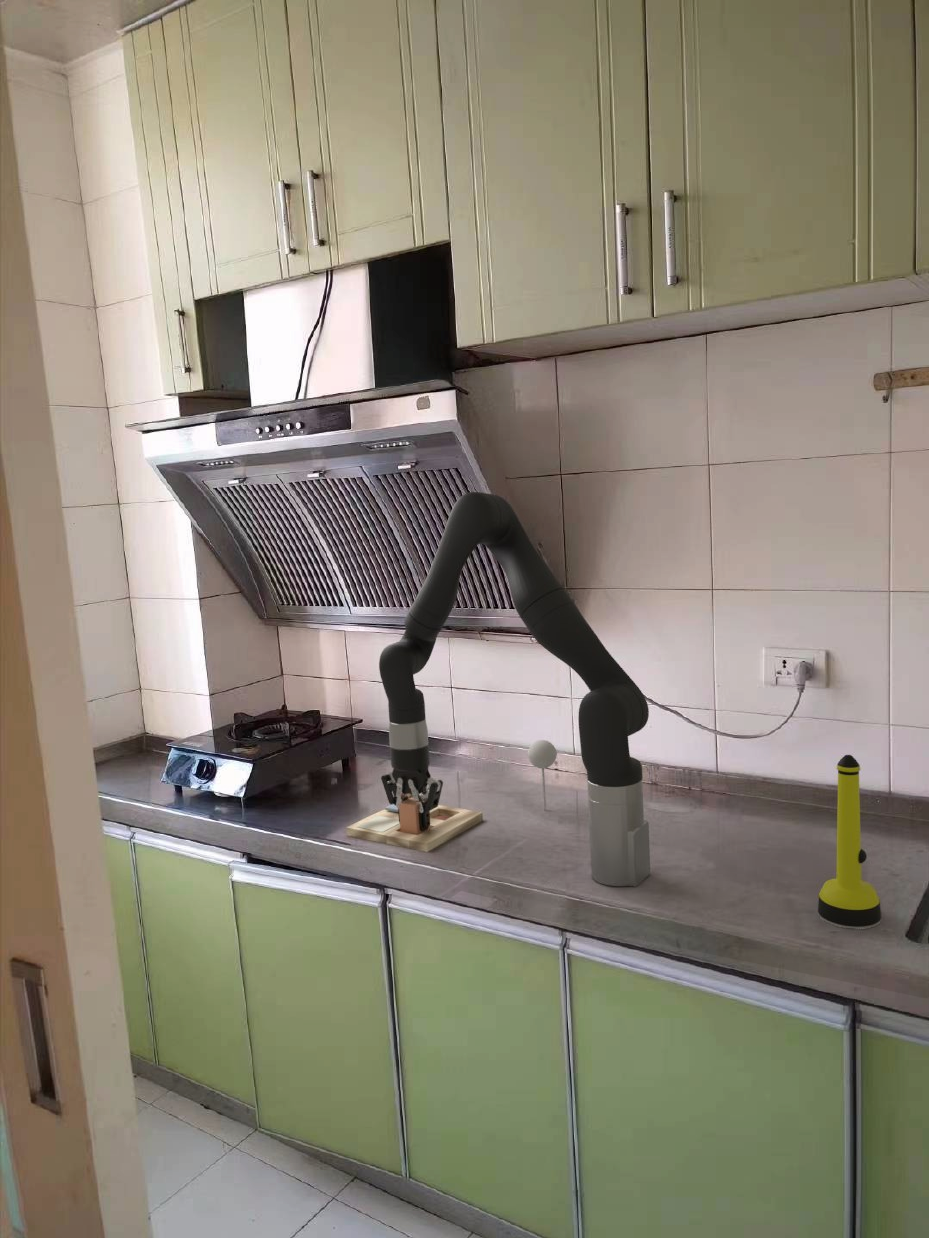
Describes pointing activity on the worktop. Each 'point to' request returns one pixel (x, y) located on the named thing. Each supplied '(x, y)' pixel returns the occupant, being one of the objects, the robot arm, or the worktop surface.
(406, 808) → the block
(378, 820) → the board
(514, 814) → the worktop surface
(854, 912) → the flashlight
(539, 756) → the lollipop
